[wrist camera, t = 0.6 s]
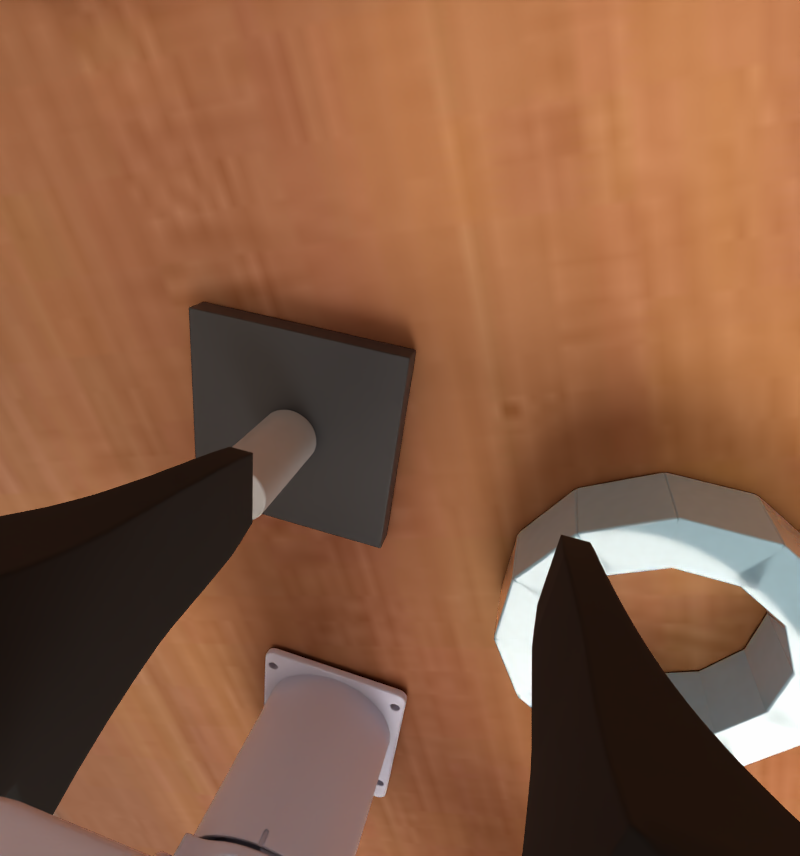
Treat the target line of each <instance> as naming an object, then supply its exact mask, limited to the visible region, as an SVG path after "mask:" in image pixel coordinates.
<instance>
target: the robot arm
mask: <svg viewBox="0 0 800 856" xmlns="http://www.w3.org/2000/svg"><path fill="white" fill-rule="evenodd" d="M252 512H253V453H252V452H248V451H244V450H241V449H237V448H233V447H227V448H223V449H220V450H217V451H214V452H211V453H209V454H206V455H203V456H201V457H198V458H196V459H193V460H190V461H188V462H185V463H183V464H180V465H177V466H175V467H172V468H170V469H167V470H164V471H162V472H159V473H156V474H154V475H151V476H148V477H146V478H143V479H140V480H137V481H134V482H131V483H128V484H125V485H122V486H119V487H116V488H113V489H110V490H107V491H104V492H101V493H98V494H95V495H91V496H88V497H84V498H81V499H77V500H73V501H69V502H65V503H61V504H57V505H53V506H49V507H45V508H40V509H35V510H30V511H25V512H20V513H15V514H10V515H4V516H0V856H150V855H147V854H145V853H143V852H140V851H138V850H135V849H133V848H130V847H128V846H126V845H123V844H121V843H118V842H116V841H114V840H111V839H109V838H106V837H104V836H102V835H99V834H97V833H94V832H92V831H90V830H87V829H85V828H82V827H80V826H78V825H75V824H73V823H70V822H68V821H65V820H63V819H61V818H58V817H56V816H53V813H54V812H55V810H56V808H57V806H58V805H59V803H60V801H61V799H62V797H63V796H64V794H65V792H66V790H67V789H68V787H69V785H70V783H71V782H72V780H73V778H74V776H75V774H76V773H77V771H78V769H79V768H80V766H81V764H82V763H83V761H84V759H85V758H86V756H87V754H88V753H89V751H90V749H91V748H92V746H93V744H94V743H95V741H96V739H97V738H98V736H99V735H100V733H101V731H102V730H103V728H104V726H105V725H106V723H107V721H108V720H109V718H110V717H111V715H112V714H113V712H114V710H115V709H116V707H117V706H118V704H119V703H120V701H121V700H122V698H123V697H124V695H125V693H126V692H127V690H128V689H129V687H130V686H131V684H132V683H133V681H134V680H135V678H136V677H137V675H138V674H139V672H140V671H141V669H142V668H143V666H144V665H145V663H146V662H147V660H148V659H149V658H150V656H151V655H152V653H153V652H154V650H155V649H156V647H157V646H158V644H159V643H160V642H161V641H162V639H163V638H164V637H165V635H166V634H167V633H168V632H169V630H170V629H171V628H172V626H173V625H174V624H175V623H176V622H177V621H178V619H179V618H180V617H181V616H182V615H183V613H184V612H185V611H186V610H187V609H188V608H189V606H190V605H191V604H192V603H193V602H194V600H195V599H196V598H197V597H198V596H199V595H200V593H201V592H202V591H203V590H204V589H205V587H206V586H207V585H208V584H209V583H210V582H211V580H212V579H213V578H214V577H215V575H216V574H217V573H218V572H219V571H220V569H221V568H222V567H223V566H224V565H225V563H226V562H227V561H228V560H229V558H230V557H231V556H232V554H233V553H234V551H235V550H236V548H237V547H238V545H239V544H240V542H241V540H242V539H243V537H244V535H245V534H246V532H247V530H248V529H249V527H250V525H251V524H252ZM406 701H407V696H406V694H405V693H404V692H403V691H402V690H399V689H397V688H394V687H391V686H388V685H385V684H382V683H379V682H376V681H373V680H370V679H367V678H364V677H361V676H358V675H355V674H352V673H349V672H346V671H343V670H340V669H337V668H334V667H331V666H328V665H325V664H322V663H319V662H316V661H313V660H310V659H307V658H304V657H301V656H298V655H295V654H292V653H289V652H286V651H283V650H280V649H277V648H271V649H269V650H268V652H267V654H266V659H265V690H264V708H263V709H262V711H261V713H260V715H259V717H258V718H257V720H256V722H255V724H254V726H253V728H252V729H251V731H250V733H249V735H248V737H247V739H246V740H245V742H244V744H243V746H242V748H241V750H240V751H239V753H238V755H237V757H236V759H235V761H234V762H233V764H232V766H231V768H230V770H229V772H228V773H227V775H226V777H225V779H224V781H223V782H222V784H221V786H220V788H219V790H218V792H217V793H216V795H215V797H214V799H213V801H212V803H211V804H210V806H209V808H208V810H207V812H206V814H205V815H204V817H203V819H202V821H201V823H200V825H199V826H198V828H197V830H196V832H195V834H194V835H192V834H190V833H186V834H185V836H184V837H183V839H182V841H181V843H180V845H179V846H178V848H177V850H176V852H175V853H174V855H173V856H355V855H356V852H357V848H358V845H359V842H360V838H361V835H362V832H363V828H364V825H365V822H366V819H367V815H368V812H369V809H370V805H371V802H372V799H373V795H374V796H376V797H383V796H385V795H386V791H387V787H388V782H389V778H390V773H391V769H392V764H393V760H394V755H395V751H396V746H397V742H398V737H399V733H400V728H401V724H402V719H403V715H404V710H405V706H406ZM153 856H172V855H170V854H168V853H166V852H164V851H160V852H158V853H156V854H155V855H153ZM522 856H800V822H799V821H798V820H797V819H796V818H795V817H794V816H793V815H792V814H791V813H790V812H788V811H787V810H786V809H785V808H784V807H783V806H782V805H781V804H780V803H779V802H778V801H777V800H776V799H775V798H774V797H773V796H772V795H771V794H770V793H769V792H768V791H767V790H766V789H765V788H764V787H763V786H762V785H761V784H760V783H759V782H758V781H757V780H756V779H755V778H754V777H753V776H752V775H751V774H750V773H749V772H748V771H747V770H746V769H745V767H744V766H743V765H742V764H741V763H740V762H739V761H738V760H737V759H736V758H735V757H734V756H733V755H732V754H731V753H730V752H729V750H728V749H727V748H726V747H725V746H724V745H723V744H722V742H721V741H720V740H719V739H718V738H717V737H716V736H715V735H714V733H713V732H712V731H711V730H710V729H709V728H708V727H707V725H706V724H705V723H704V722H703V721H702V720H701V718H700V717H699V716H698V715H697V714H696V712H695V711H694V710H693V709H692V708H691V706H690V705H689V704H688V703H687V701H686V700H685V699H684V697H683V696H682V695H681V694H680V692H679V691H678V690H677V688H676V687H675V686H674V684H673V683H672V682H671V680H670V679H669V678H668V676H667V675H666V674H665V672H664V671H663V670H662V668H661V667H660V665H659V664H658V662H657V661H656V660H655V658H654V657H653V655H652V653H651V652H650V650H649V649H648V647H647V646H646V644H645V643H644V641H643V639H642V638H641V636H640V635H639V633H638V631H637V630H636V628H635V626H634V625H633V623H632V621H631V619H630V618H629V616H628V614H627V612H626V611H625V609H624V607H623V605H622V603H621V602H620V600H619V598H618V596H617V594H616V592H615V591H614V589H613V587H612V585H611V583H610V581H609V579H608V577H607V575H606V573H605V571H604V569H603V567H602V565H601V563H600V560H599V558H598V556H597V554H596V552H595V550H594V548H593V546H592V545H591V543H590V542H588V541H584V540H580V539H576V538H573V537H569V536H565V535H561V536H560V539H559V542H558V545H557V547H556V550H555V553H554V556H553V559H552V562H551V565H550V568H549V571H548V574H547V577H546V580H545V583H544V586H543V589H542V592H541V595H540V598H539V601H538V604H537V610H536V618H535V625H534V633H533V642H532V754H531V774H530V784H529V795H528V805H527V815H526V825H525V834H524V844H523V853H522Z"/></svg>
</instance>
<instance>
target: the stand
mask: <svg viewBox="0 0 800 856" xmlns="http://www.w3.org/2000/svg"><path fill="white" fill-rule="evenodd" d="M189 321H190V343H191V365H192V387H193V409H194V431H195V454H196V458H198V457H201V456H203V455H206V454H209V453H211V452H214V451H217V450H220V449H223V448H227V447H233V448H237V449H241V450H244V451H248V452H252V453H253V512H252V520H253V519H256V518H257V517H259V516H260V515H261V514H264V515H268V516H271V517H275V518H278V519H281V520H285V521H288V522H292V523H295V524H299V525H302V526H305V527H309V528H312V529H316V530H319V531H323V532H326V533H330V534H333V535H336V536H340V537H343V538H347V539H350V540H354V541H357V542H360V543H364V544H367V545H371V546H374V547H378V548H381V546H382V544H383V542H384V540H385V538H386V535H387V530H388V524H389V517H390V511H391V505H392V499H393V492H394V486H395V480H396V474H397V467H398V461H399V455H400V448H401V442H402V436H403V430H404V423H405V417H406V411H407V405H408V398H409V392H410V386H411V380H412V373H413V367H414V361H415V355H416V350H414V349H410V348H405V347H401V346H396V345H392V344H387V343H383V342H379V341H374V340H370V339H365V338H361V337H356V336H352V335H348V334H343V333H339V332H334V331H330V330H325V329H321V328H317V327H312V326H308V325H303V324H299V323H294V322H290V321H286V320H281V319H277V318H272V317H268V316H263V315H259V314H255V313H250V312H246V311H241V310H237V309H232V308H228V307H224V306H219V305H215V304H210V303H206V302H201V303H199V304H197V305H194V306H192V307H189Z"/></svg>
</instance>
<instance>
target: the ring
mask: <svg viewBox="0 0 800 856" xmlns="http://www.w3.org/2000/svg"><path fill="white" fill-rule="evenodd" d="M561 535H565V536H569V537H573V538H576V539H580V540H584V541H588V542H590V543H591V545H592V546H593V548H594V550H595V552H596V554H597V556H598V558H599V560H600V563H601V565H602V567H603V569H604V571H605V573H606V575H607V576H609V575H617V574H625V573H633V572H642V571H650V570H658V569H667V568H674V569H678V570H682V571H686V572H689V573H693V574H697V575H700V576H704V577H708V578H711V579H715V580H719V581H722V582H726V583H730V584H733V585H737V586H740V587H741V588H743V589H744V590H745V591H746V592H747V593H748V594H749V595H751V596H752V597H753V598H754V599H755V600H756V601H757V602H759V603H760V604H761V605H762V606H763V607H764V608H765V609H767V614H766V616H765V617H764V619H763V621H762V622H761V624H760V625H759V627H758V629H757V630H756V632H755V633H754V635H753V637H752V638H751V640H750V641H749V643H748V644H747V646H746V648H745V649H744V650H742V651H740V652H738V653H735V654H733V655H731V656H729V657H727V658H725V659H723V660H721V661H719V662H717V663H715V664H713V665H711V666H709V667H707V668H705V669H702V670H700V671H694V672H676V673H665V674H666V675H667V676H668V678H669V679H670V680H671V682H672V683H673V684H674V686H675V687H676V688H677V690H678V691H679V692H680V694H681V695H682V696H683V697H684V699H685V700H686V701H687V703H688V704H689V705H690V706H691V708H692V709H693V710H694V711H695V712H696V714H697V715H698V716H699V717H700V718H701V720H702V721H703V722H704V723H705V724H706V725H707V727H708V728H709V729H710V730H711V731H712V732H713V733H714V735H715V736H716V737H717V738H718V739H719V740H720V741H721V742H722V744H723V745H724V746H725V747H726V748H727V749H728V750H729V752H730V753H731V754H732V755H733V756H734V757H735V758H736V759H737V760H738V761H739V762H740V763H741V764H742V765H743V766H746V765H749V764H751V763H754V762H757V761H759V760H762V759H765V758H768V757H770V756H773V755H776V754H778V753H781V752H784V751H786V750H789V749H792V748H795V747H797V746H800V533H799V532H798V531H797V530H796V529H795V528H794V527H793V526H791V525H790V524H789V523H788V522H787V521H786V520H785V519H784V518H783V517H781V516H780V515H779V514H778V513H777V512H776V511H775V510H774V509H773V508H772V507H770V506H769V505H768V504H767V503H766V502H765V501H764V500H763V499H762V498H760V497H759V496H757V495H756V494H752V493H748V492H744V491H740V490H736V489H732V488H728V487H723V486H719V485H715V484H711V483H707V482H703V481H699V480H695V479H691V478H687V477H683V476H679V475H675V474H670V473H657V474H652V475H646V476H641V477H636V478H630V479H625V480H619V481H614V482H608V483H603V484H597V485H592V486H586V487H581V488H577V490H576V489H575V490H573V491H572V492H571V493H569V494H568V495H567V496H566V497H564V498H563V499H562V500H560V501H559V502H558V503H556V504H555V505H554V506H553V507H551V508H550V509H549V510H547V511H546V512H545V513H544V514H542V515H541V516H540V517H538V518H537V519H536V520H534V521H533V522H532V523H531V524H529V525H528V526H527V527H525V528H524V529H523V530H521V531H520V532H519V534H518V535H517V538H516V541H515V544H514V548H513V551H512V554H511V558H510V561H509V564H508V568H507V571H506V574H505V577H504V581H503V584H502V587H501V593H500V600H499V606H498V613H497V620H496V626H495V633H494V640H495V643H496V645H497V648H498V650H499V652H500V655H501V657H502V660H503V662H504V665H505V667H506V670H507V672H508V675H509V677H510V680H511V682H512V684H513V687H514V689H515V692H516V694H517V695H518V697H519V698H520V699H521V700H522V701H524V702H525V703H526V704H527V705H528V706H530V707H531V708H532V642H533V633H534V625H535V618H536V610H537V604H538V601H539V598H540V595H541V592H542V589H543V586H544V583H545V580H546V577H547V574H548V571H549V568H550V565H551V562H552V559H553V556H554V553H555V550H556V547H557V545H558V542H559V539H560V536H561Z"/></svg>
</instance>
